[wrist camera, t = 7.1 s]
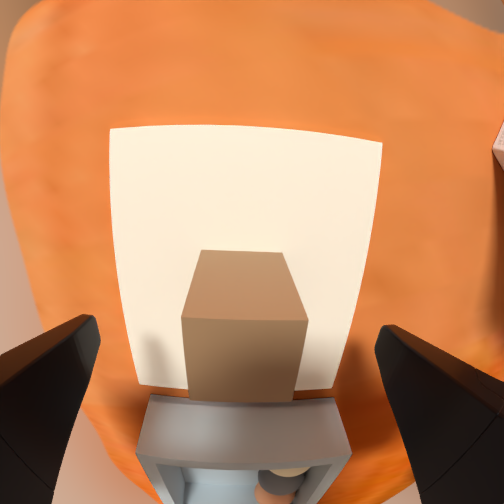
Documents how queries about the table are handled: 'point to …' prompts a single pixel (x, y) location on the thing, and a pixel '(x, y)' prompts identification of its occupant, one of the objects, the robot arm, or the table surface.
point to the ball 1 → (290, 471)
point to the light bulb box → (499, 147)
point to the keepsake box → (239, 447)
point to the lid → (240, 254)
